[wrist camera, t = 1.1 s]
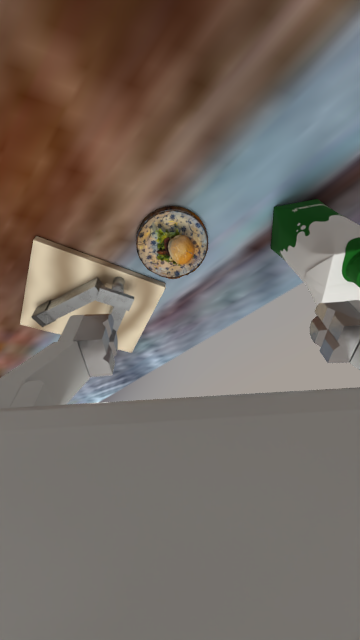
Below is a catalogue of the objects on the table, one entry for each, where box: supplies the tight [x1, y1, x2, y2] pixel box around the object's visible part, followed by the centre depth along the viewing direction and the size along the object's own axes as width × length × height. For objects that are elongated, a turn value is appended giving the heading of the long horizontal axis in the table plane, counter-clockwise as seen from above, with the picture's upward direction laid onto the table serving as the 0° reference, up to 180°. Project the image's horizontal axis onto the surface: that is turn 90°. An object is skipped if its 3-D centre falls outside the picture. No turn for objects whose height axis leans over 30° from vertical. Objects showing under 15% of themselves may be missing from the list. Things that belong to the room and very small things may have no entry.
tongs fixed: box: [96, 276, 134, 333], centre depth 48 cm, size 16×6×5 cm, turn 154°
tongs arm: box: [31, 277, 105, 327], centre depth 46 cm, size 13×3×3 cm, turn 116°
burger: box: [136, 206, 208, 279], centre depth 41 cm, size 12×12×8 cm
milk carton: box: [271, 199, 360, 305], centre depth 36 cm, size 9×9×20 cm
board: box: [20, 236, 166, 353], centre depth 49 cm, size 22×18×2 cm
